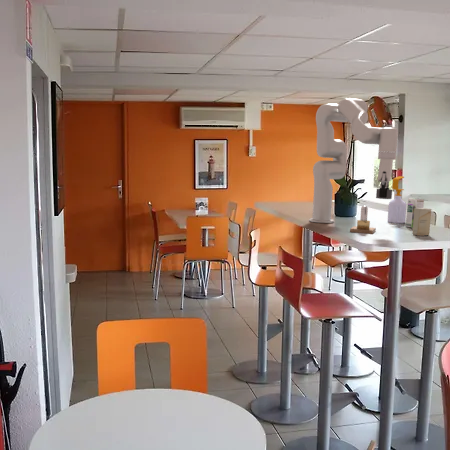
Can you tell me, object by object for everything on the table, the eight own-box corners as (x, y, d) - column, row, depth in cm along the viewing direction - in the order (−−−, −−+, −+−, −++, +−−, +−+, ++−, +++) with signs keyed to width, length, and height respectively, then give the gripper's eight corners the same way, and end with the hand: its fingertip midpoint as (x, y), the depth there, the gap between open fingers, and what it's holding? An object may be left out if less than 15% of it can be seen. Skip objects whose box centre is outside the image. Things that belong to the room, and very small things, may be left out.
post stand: (353, 229, 263) (355, 204, 261) (375, 231, 259) (377, 205, 258) (350, 231, 254) (351, 205, 252) (372, 233, 250) (374, 207, 249)
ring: (377, 197, 252) (377, 188, 251) (392, 198, 249) (392, 189, 249) (375, 198, 246) (376, 189, 245) (390, 199, 243) (391, 190, 243)
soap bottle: (408, 223, 297) (412, 176, 294) (396, 223, 293) (399, 176, 289) (396, 220, 305) (399, 176, 302) (383, 221, 301) (387, 175, 297)
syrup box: (405, 226, 281) (407, 197, 279) (414, 226, 283) (416, 198, 281) (412, 228, 276) (414, 198, 274) (422, 227, 278) (424, 199, 276)
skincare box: (417, 235, 249) (419, 208, 247) (411, 234, 253) (413, 207, 251) (429, 235, 251) (432, 208, 249) (423, 234, 255) (425, 207, 253)
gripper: (380, 155, 254) (377, 194, 257) (375, 155, 238) (372, 197, 241) (397, 156, 252) (394, 196, 254) (393, 156, 236) (390, 198, 238)
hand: (383, 196), depth 248 cm, fingers closed on ring, 6 cm apart
